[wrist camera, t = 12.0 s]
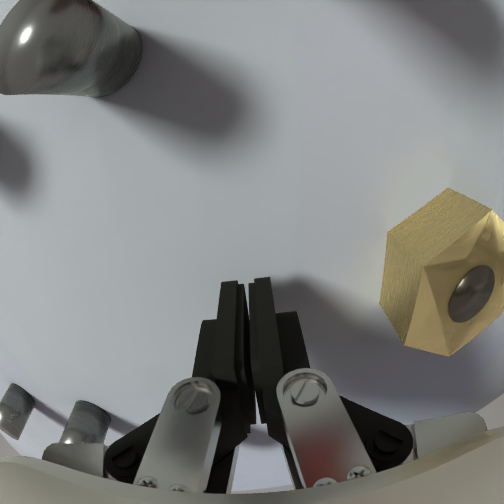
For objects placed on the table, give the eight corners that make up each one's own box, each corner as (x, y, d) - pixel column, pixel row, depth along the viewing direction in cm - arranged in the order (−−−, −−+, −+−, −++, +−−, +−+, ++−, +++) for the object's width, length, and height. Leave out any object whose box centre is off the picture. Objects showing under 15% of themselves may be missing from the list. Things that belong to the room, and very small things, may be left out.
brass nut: (469, 167, 9) (517, 186, 6) (490, 263, 11) (524, 293, 8) (351, 254, 11) (380, 297, 8) (396, 336, 13) (418, 378, 10)
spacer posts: (140, 12, 6) (78, -38, 2) (232, 432, 16) (230, 489, 12) (-84, 169, 7) (-122, 188, 3) (22, 401, 17) (6, 434, 13)
